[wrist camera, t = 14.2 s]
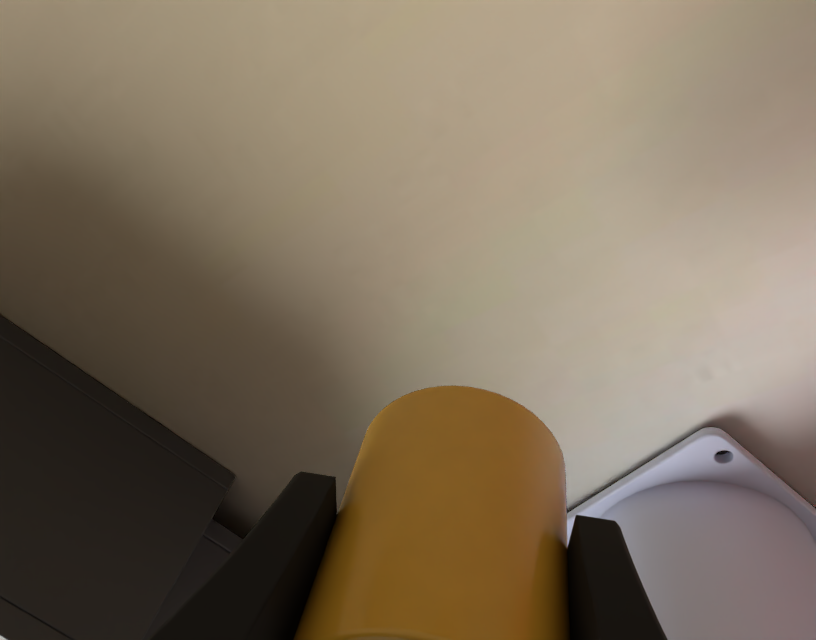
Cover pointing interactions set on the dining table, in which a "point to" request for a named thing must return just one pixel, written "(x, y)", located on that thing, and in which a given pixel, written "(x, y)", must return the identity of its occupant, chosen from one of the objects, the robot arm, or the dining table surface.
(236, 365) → the dining table surface
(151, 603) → the dark drawer box
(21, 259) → the dining table surface
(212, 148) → the dining table surface
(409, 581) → the yellow cylinder
